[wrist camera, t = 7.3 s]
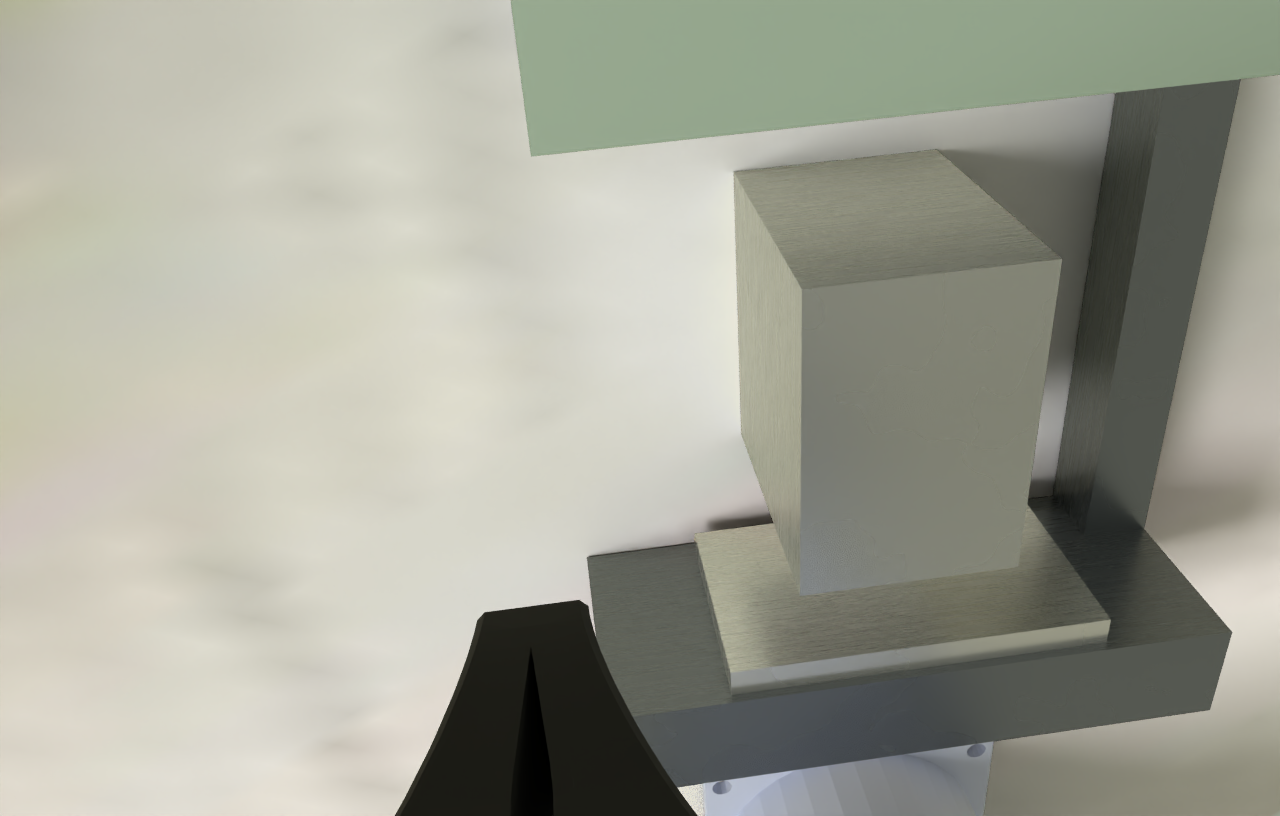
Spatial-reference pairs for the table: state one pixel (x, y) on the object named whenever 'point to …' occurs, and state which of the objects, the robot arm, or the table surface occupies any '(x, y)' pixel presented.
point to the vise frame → (976, 602)
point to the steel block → (889, 366)
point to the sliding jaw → (855, 60)
